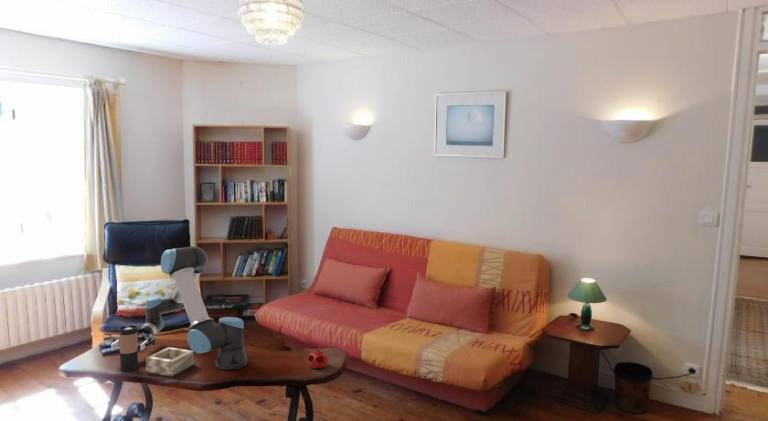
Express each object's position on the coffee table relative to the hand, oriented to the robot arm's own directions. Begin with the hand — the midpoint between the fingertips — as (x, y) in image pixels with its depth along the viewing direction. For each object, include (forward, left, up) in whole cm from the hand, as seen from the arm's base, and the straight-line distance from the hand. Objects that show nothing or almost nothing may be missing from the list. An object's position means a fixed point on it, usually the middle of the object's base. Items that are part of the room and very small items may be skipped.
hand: (126, 347), depth 240 cm
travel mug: (0, -2, -11) cm, 11 cm away
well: (-18, -9, -11) cm, 22 cm away
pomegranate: (-83, -37, -11) cm, 91 cm away
